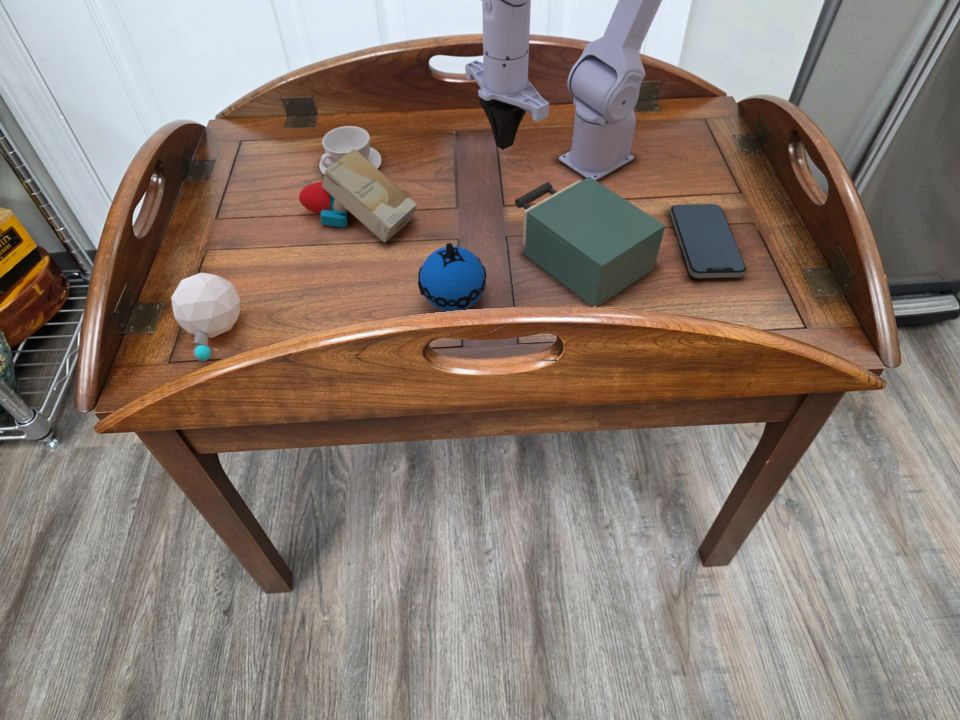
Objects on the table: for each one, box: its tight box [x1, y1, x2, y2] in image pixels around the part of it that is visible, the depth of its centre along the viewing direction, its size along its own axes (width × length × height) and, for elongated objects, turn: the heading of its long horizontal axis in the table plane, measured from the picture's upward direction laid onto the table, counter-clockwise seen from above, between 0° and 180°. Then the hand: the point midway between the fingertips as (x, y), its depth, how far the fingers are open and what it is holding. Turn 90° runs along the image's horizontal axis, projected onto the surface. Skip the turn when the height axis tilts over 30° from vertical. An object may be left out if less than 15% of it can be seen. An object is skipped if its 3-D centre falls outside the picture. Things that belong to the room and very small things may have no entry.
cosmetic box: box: [322, 149, 418, 244], centre depth 92 cm, size 6×4×12 cm
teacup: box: [318, 125, 382, 175], centre depth 103 cm, size 10×10×5 cm
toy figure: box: [298, 181, 350, 228], centre depth 96 cm, size 8×5×15 cm
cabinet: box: [524, 177, 666, 307], centre depth 87 cm, size 14×12×8 cm
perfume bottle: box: [170, 272, 241, 362], centre depth 80 cm, size 8×8×12 cm
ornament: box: [417, 242, 487, 312], centre depth 81 cm, size 9×9×10 cm
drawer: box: [514, 179, 582, 246], centre depth 89 cm, size 17×10×6 cm, turn 39°
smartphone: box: [669, 203, 747, 279], centre depth 91 cm, size 8×2×15 cm
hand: (504, 145), depth 91 cm, fingers closed
